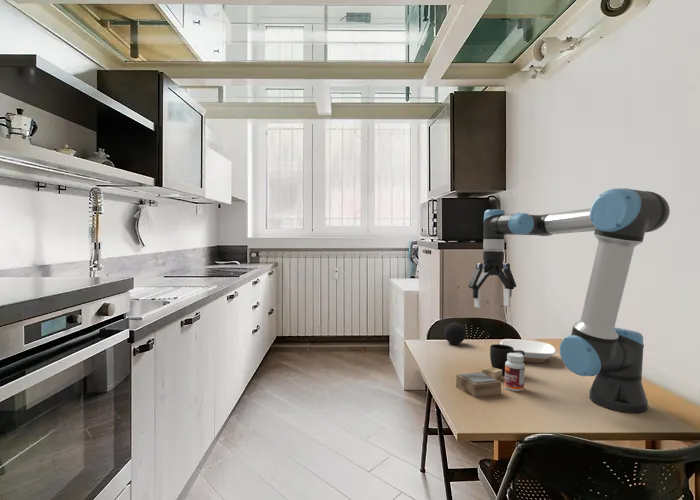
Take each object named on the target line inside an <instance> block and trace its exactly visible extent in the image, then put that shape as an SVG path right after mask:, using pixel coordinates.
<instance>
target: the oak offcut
mask: <svg viewBox="0 0 700 500" xmlns="http://www.w3.org/2000/svg"><path fill="white" fill-rule="evenodd" d="M481 372H482V373H484V374H486V375H488V376H491V377H493V378H495V379H497V380H498V379H499V380H502V379H503V374H502V370H501V369H497V368H494V367H492V366H487V367H484V368H482V369H481Z"/></svg>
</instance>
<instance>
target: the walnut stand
mask: <svg viewBox="0 0 700 500" xmlns="http://www.w3.org/2000/svg"><path fill="white" fill-rule="evenodd" d="M455 386H456V388H457V389H459V390H461V391H463V392H465V393H466V394H468V395H469V396H472V397H474V398H482V397H488V396H497V395H501V394H502V381H501V380H500V379H499V380H497V379H495V378H493V377H491V376H488V375H486V374H484V373H482V371H479V372H471V373H470V372H469V373H462V374H461V373H460V374H456V381H455Z"/></svg>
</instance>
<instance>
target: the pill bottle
mask: <svg viewBox="0 0 700 500" xmlns="http://www.w3.org/2000/svg"><path fill="white" fill-rule="evenodd" d="M507 360H508V361H506V363H505V375H504V385H503V386H504V388H505V389H507V390H509V391H513V392H521V391H524V389H525V372H526V365H525V361H524V355H522V354H519V353H508V354H507Z"/></svg>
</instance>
